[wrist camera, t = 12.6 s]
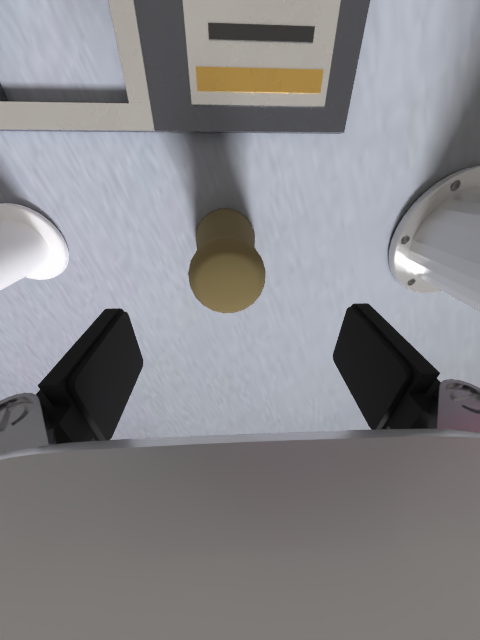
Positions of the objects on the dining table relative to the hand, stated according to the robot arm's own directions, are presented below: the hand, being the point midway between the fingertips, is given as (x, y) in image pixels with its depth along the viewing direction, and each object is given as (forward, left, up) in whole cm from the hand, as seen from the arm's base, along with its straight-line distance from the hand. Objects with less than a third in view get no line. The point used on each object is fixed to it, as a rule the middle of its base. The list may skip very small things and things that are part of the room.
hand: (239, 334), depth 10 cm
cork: (0, 0, -16) cm, 16 cm away
